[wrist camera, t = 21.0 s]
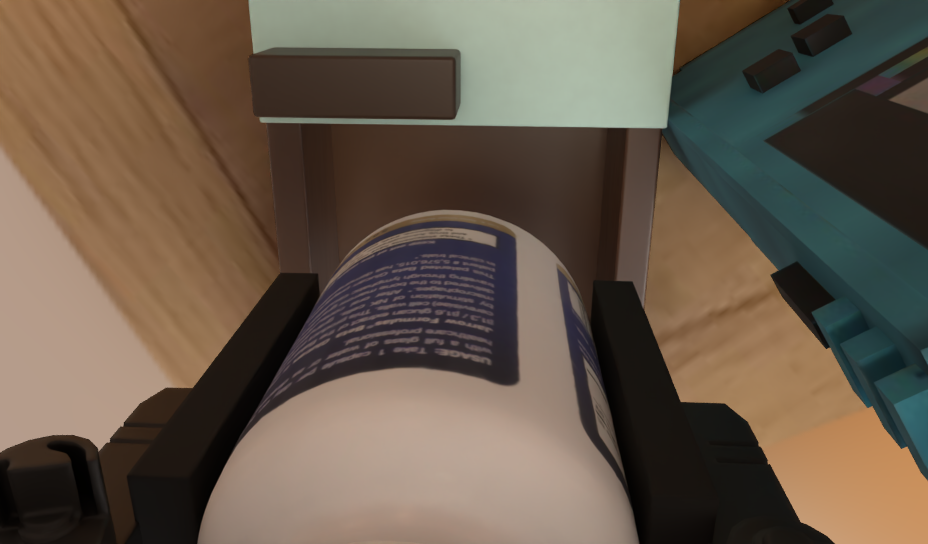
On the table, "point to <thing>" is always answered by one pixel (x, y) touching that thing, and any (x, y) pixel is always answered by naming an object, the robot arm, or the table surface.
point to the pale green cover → (464, 62)
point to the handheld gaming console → (829, 180)
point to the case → (468, 189)
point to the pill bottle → (433, 404)
